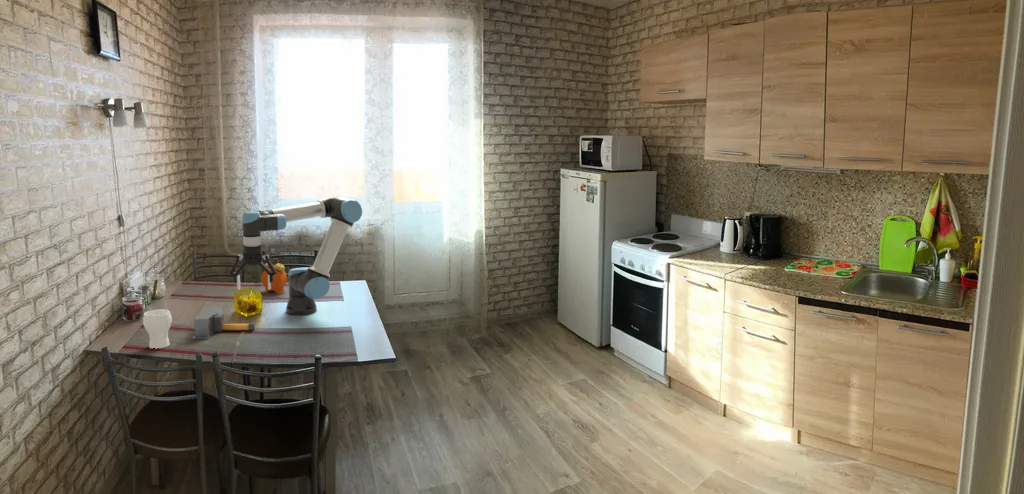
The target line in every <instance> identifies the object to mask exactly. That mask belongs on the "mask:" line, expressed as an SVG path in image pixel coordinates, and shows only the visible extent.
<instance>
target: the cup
mask: <svg viewBox="0 0 1024 494" xmlns="http://www.w3.org/2000/svg"><path fill="white" fill-rule="evenodd" d="M172 317H173V316H172V315H171V311H170V310H168V309H163V308H162V309H161V308H159V309H151V310H148V311H145V312H144V314H143V318H142V322H143V323H142V324H143V328H144V329H145V330H146V332H147V333H148V336H149V343H148V345H149V346H148V347H149V349H153V348H155V349H154V350H157V349H158V348H159V349H165V348H168V346H170V339H169V330H170V329H171V325H172ZM159 349H158V350H159Z"/></svg>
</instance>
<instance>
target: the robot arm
mask: <svg viewBox="0 0 1024 494" xmlns="http://www.w3.org/2000/svg"><path fill="white" fill-rule="evenodd" d="M362 215H363V208H362V205H361V204H360V202H359V201H357V200H356V199H353V198H349V197H344V196H331V197H327V198H321V199H317V201H316V202H309V203H303V204H298V205H291V206H290V205H289V206H285V207H279V208H273V209H267V210H266V209H265V210H253V211H249V210H248V211H244V212H243V213H242V215H241V217H242V218H241V223H242V237H243V238H242V239H243V240H242V241H243V242H242V243H243V255H241V254H238V255H237V256H236V259H235V262H234V265H233V266H232V268H231V270H230V271H229V275H230V276H233V277H234V283H235V284H236V288H237V291H240V290H241V275H240V273H241V272H242V270H244V268H245V267H246V266H247V265H249V266H252V265H253V266H256V265H257V266H259V267H260V268H262V270H263V271H264V270H265V271H266V272H267V273H268V274H269V275H268V290H270V289H271V282H273V275H275V274H276V273H277V271H276V270H275V268H274V267H275V266H273V265H274V264H273V263H272V260H271V258H270V255H269V254H266V255H262V245H261V244H262V237H261V234H262V233H261V232H272V231H281V230H285V229H286V227H287V223H289V222H290V223H292V222H295V221H302V220H307V219H313V218H318V217H320V218H321V219H324V218H330V221H331V224H330V225H329V228H328V231H327V233H326V235H325V237H324V240H323V241H322V244H321V246H320V249H319V251H318V252H317V255H316V256H315V259H314V262H313V264H312V266H309V267H308V266H306V267H296V268H291V269H288V276H287V278H288V300H287V303H286V307H285V311H286V313H287V314H289V315H294V316H304V315H309V314H313V313H316V312H317V304H316V301H315V300H320V299H322V298H324V297H325V296H326V295H327V294H328V292H329V291H330V281H329V280H330V278H331V275H330V271H331V268H332V266H333V264H334V263H335V259H336V256H337V254H338V253H339V250H340V247H341V245H342V244H343V241H344V239H345V236H346V234H347V232H348V230H349V229H352V228H353V226H354V224H355V223H356V222H358V221H360V220H361V217H362ZM242 259H243V260H244V261H245V262H243V263H242V264H241V266H240V267H239V268H238V266H239V264H240V261H242ZM262 259H263V260H264V261H265V263H264V262H263V261H262ZM266 263H267V264H268V266H269V268H270V269H271V271H272V272H271V271H270V270H269V269H268V267H267V266H266V265H265V264H266ZM237 268H238V269H237Z"/></svg>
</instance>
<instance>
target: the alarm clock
mask: <svg viewBox="0 0 1024 494" xmlns="http://www.w3.org/2000/svg"><path fill="white" fill-rule="evenodd" d="M274 259H277V263H276V264H273V266H274V268H275V270H276V271H277V273H276V274H275V275H273V282H271V289H270V290H268V275H269V274H268V273H267V272H266V271H265V270H264V269H263V271H262V273H261V276H260V278H261V279H260V281H261V283H262V285H263V287H264V288H265V289H264V293H269V292H272V291H273V292H275V293H276V294H279V295H280V294H282V293H285V292H286V290H285V286H286V284H287V282H288V276H287V272H286V271H285V269H286V268H285V265H284V264H282V263H279V262H280V261H279V260H278V258H277V257H276V258H274ZM264 264H265V265H266V266H267V268H268V269H269V270H270V271H271V269H270V267H269V266H268V264H267V262H265V263H264ZM271 272H272V271H271Z"/></svg>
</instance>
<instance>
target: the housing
mask: <svg viewBox="0 0 1024 494" xmlns="http://www.w3.org/2000/svg"><path fill="white" fill-rule="evenodd" d="M214 315H223V307H222V306H208V307H207V308H205V309H204V310H203V311H202V312H201V313H199V314H198V315H197V316H196V317H195V318H193V321H194V322H193V326H194V335H193V336H192V337H191V339H192V340H209V339H210V338H211V336H212V335H213V334H214V333H215V332H214V319H213V316H214ZM224 324H226V320H224Z"/></svg>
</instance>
